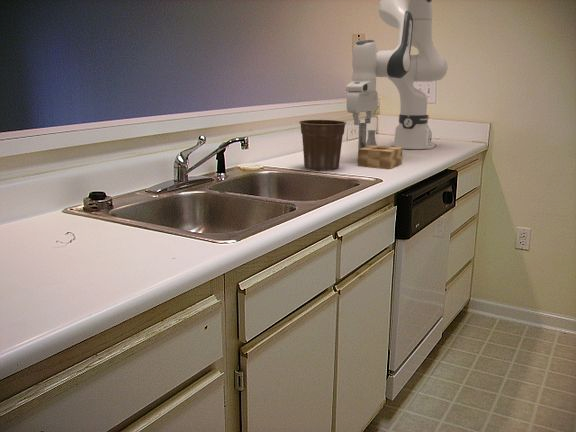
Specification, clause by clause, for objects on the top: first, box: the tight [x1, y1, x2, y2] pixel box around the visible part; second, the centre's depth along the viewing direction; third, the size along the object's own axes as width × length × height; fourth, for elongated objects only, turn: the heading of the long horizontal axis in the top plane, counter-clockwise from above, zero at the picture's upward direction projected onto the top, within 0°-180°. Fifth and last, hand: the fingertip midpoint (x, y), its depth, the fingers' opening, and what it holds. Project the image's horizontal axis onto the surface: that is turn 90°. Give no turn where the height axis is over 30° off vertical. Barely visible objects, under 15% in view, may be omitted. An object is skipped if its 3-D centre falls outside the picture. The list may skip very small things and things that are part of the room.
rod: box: [357, 122, 368, 150], centre depth 214 cm, size 3×3×14 cm
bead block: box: [357, 145, 404, 170], centre depth 205 cm, size 12×12×6 cm
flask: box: [366, 129, 378, 147], centre depth 226 cm, size 7×7×10 cm
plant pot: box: [298, 119, 347, 171], centre depth 198 cm, size 16×16×16 cm
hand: (362, 124), depth 212 cm, fingers open, 8 cm apart
